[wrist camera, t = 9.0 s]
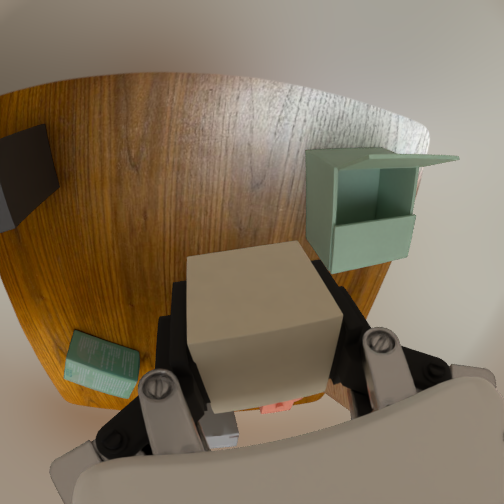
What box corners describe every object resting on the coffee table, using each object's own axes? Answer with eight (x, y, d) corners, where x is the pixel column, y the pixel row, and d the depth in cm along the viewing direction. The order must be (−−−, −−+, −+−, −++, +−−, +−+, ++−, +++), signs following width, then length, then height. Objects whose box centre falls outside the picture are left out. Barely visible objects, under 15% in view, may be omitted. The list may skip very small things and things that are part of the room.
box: (132, 371, 51) (129, 401, 44) (71, 349, 45) (62, 379, 39) (141, 351, 48) (138, 384, 42) (74, 327, 42) (64, 358, 36)
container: (305, 150, 34) (337, 169, 27) (381, 147, 36) (423, 165, 28) (305, 237, 41) (331, 274, 34) (374, 226, 43) (407, 257, 35)
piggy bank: (243, 371, 56) (250, 404, 49) (297, 365, 58) (308, 395, 51) (241, 390, 60) (247, 420, 53) (291, 384, 62) (300, 412, 55)
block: (186, 256, 11) (186, 343, 7) (297, 239, 11) (344, 314, 8) (205, 333, 13) (213, 414, 9) (294, 318, 14) (325, 391, 10)
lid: (337, 170, 27) (337, 166, 27) (423, 166, 28) (422, 163, 28) (369, 159, 20) (368, 154, 20) (459, 159, 22) (459, 155, 22)
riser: (-1, 145, 24) (-55, 172, 14) (45, 123, 25) (-10, 142, 15) (14, 202, 29) (-31, 244, 19) (60, 187, 30) (15, 228, 20)
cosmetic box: (187, 386, 56) (192, 451, 43) (185, 367, 52) (190, 439, 39) (225, 384, 58) (237, 448, 44) (227, 366, 54) (240, 436, 41)
